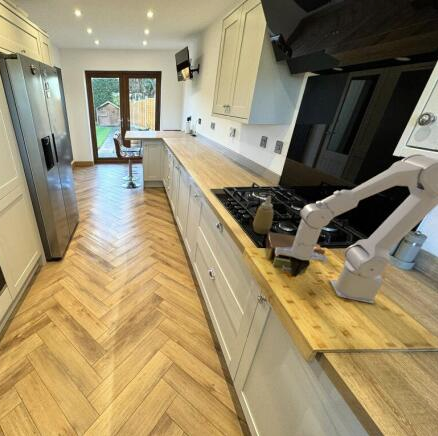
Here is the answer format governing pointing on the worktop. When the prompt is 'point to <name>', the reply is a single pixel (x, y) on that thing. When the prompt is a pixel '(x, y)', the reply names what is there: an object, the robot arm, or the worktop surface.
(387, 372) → the worktop surface
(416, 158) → the robot arm
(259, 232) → the squeeze bottle
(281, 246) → the cabinet
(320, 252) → the small brown jar
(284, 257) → the drawer
